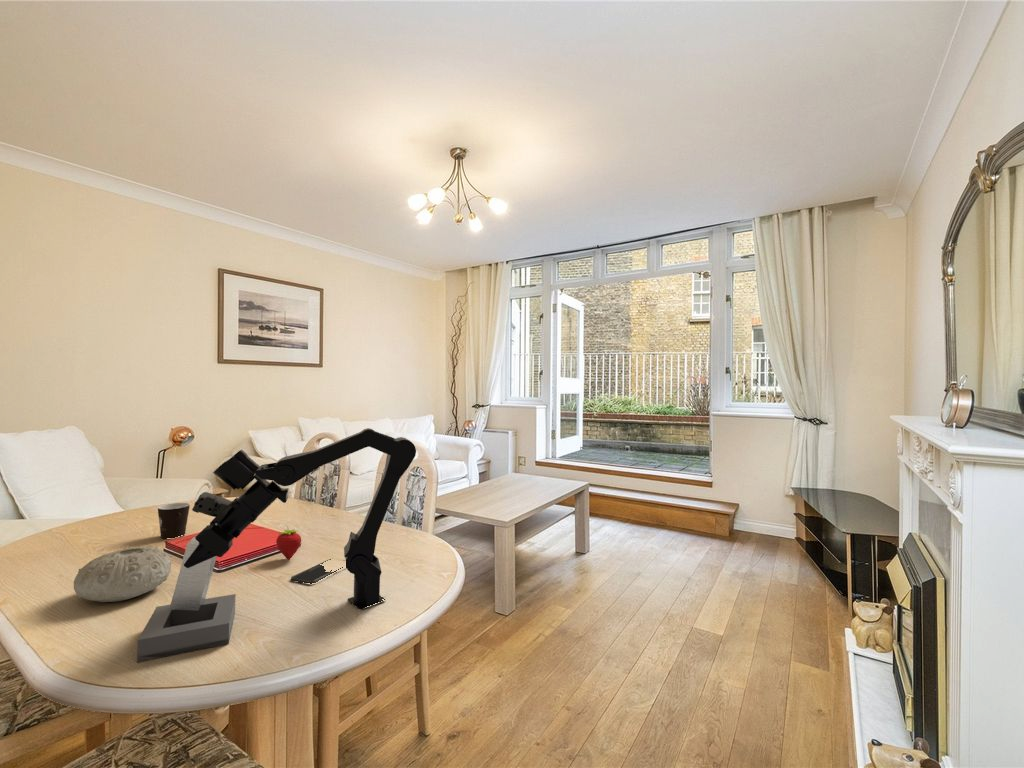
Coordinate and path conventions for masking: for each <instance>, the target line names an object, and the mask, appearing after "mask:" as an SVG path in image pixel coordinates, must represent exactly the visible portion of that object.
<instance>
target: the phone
mask: <svg viewBox="0 0 1024 768" xmlns="http://www.w3.org/2000/svg"><path fill="white" fill-rule="evenodd" d="M331 559H332V558H330V559H327V560H324V561H323V562H320V563H319V564H316V565H314V566H312V567H309V568H307V569H305V570H303V571H300V572H299V573H296V574H295V575H292V576H291V577H290V581H291V580H293V581H299V582H302V583H303V582H304V583H310V584H312V583H316V582H318V581H319V580H321V579H323V578H325V577H326V576H328V575H330V574H332V573H334V572H336V571H337V570H336V571H334V572H331V571H332V570H331V571H330V572H325V571H326V570H325V569H324V566H322V565H320V564H323V563H324V562H326V561H328V560H331ZM342 568H343V567H342ZM340 569H341V568H340ZM338 570H339V569H338ZM293 581H292V582H293ZM302 583H301V584H302Z"/></svg>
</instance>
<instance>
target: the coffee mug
mask: <svg viewBox="0 0 1024 768" xmlns="http://www.w3.org/2000/svg"><path fill="white" fill-rule="evenodd" d="M190 507H191V503H188V502H174V503H167V504H163V505H160V506H158V507H157V514H158V515H157V516H158V523H159V532H160V538H162V540H168V539H167V538H175V537H178V536H181V535H184V534H185V535H186V530H187V525H188V524H187V523H188V518H189V511H190ZM185 535H184V536H185ZM175 539H176V538H175Z"/></svg>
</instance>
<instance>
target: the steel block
mask: <svg viewBox="0 0 1024 768" xmlns="http://www.w3.org/2000/svg"><path fill="white" fill-rule="evenodd" d="M196 536H197V535H195V536H194V537H192V539H190V541H188V543H187V544H186V546H185V550H184V554H183V558H182V561H181V565H180V569H179V573H178V576H177V579H176V582H175V587H174V590H173V594H172V598H171V601H170V604H171V605H170V604H169V605H170V608H169V609H174V610H193V611H198V610H199V608H200V607H201V605H202V604H203V602H204V601H205V599H207V598H206V597H207V594H208V591H209V585H210V582H211V579H212V575H213V573H214V572H213V571H214V568H215V564H216V559H217V557H218V556H215V557H213V558H210V559H208V560H206V561H203V562H201V563H199V564H196V565H194V566H192V567H190V568H186V567H185V566H184V564H185V562H186V561H187V560H188V558H189V557H190V556H191V554H192V553H193V552H194V550H195V549H196V548H197V546H198V545H199V542H198V541H197V540H196V538H195V537H196Z"/></svg>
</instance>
